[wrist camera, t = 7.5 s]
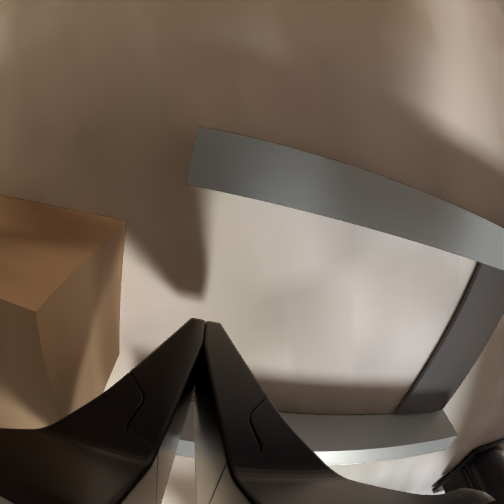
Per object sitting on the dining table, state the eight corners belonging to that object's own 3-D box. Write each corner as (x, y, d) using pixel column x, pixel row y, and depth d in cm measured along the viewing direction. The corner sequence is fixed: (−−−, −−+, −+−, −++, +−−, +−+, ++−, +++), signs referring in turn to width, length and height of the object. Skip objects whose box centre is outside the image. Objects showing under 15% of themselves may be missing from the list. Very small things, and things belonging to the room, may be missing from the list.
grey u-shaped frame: (534, 244, 9) (563, 262, 8) (431, 424, 13) (444, 449, 11) (207, 127, 8) (198, 126, 6) (161, 412, 11) (154, 450, 9)
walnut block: (127, 219, 9) (35, 311, 4) (119, 351, 10) (75, 464, 6) (-16, 190, 8) (-118, 239, 3) (-5, 309, 9) (-72, 383, 5)
